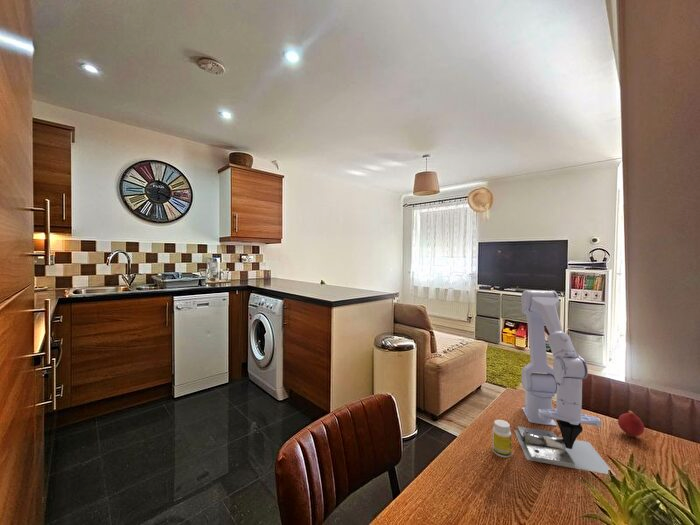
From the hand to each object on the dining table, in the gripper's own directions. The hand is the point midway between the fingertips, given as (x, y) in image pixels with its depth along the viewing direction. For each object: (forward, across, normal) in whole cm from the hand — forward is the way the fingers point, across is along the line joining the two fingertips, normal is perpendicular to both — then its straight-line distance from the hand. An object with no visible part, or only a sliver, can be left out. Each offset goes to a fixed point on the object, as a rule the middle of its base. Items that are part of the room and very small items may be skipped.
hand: (567, 446), depth 83 cm
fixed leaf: (+1, -6, +3) cm, 7 cm away
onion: (+2, +22, +14) cm, 26 cm away
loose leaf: (+1, -6, -3) cm, 7 cm away
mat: (+2, -2, 0) cm, 3 cm away
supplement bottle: (+2, -18, -6) cm, 19 cm away
